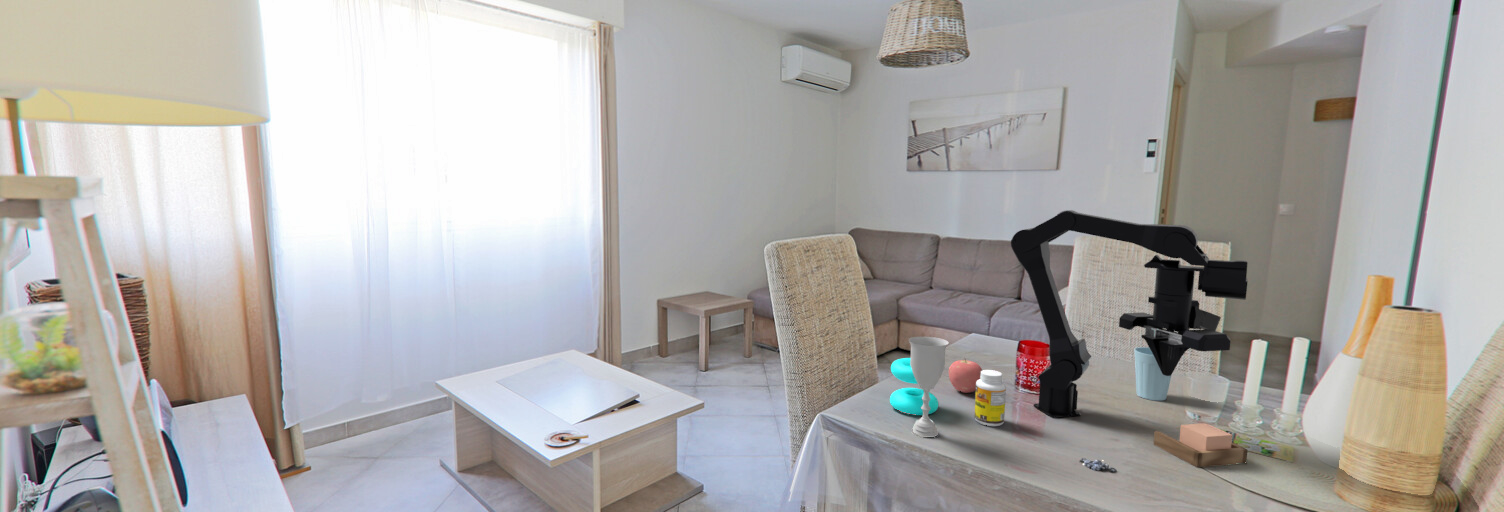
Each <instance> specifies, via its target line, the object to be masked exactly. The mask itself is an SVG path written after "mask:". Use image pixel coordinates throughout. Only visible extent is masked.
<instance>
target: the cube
mask: <svg viewBox="0 0 1504 512" xmlns="http://www.w3.org/2000/svg"><path fill="white" fill-rule="evenodd" d="M1232 440H1233V434H1231V433H1229V432H1226V431H1224V430H1222V429H1220V428H1217V427H1215V426H1212V425H1210V424H1209V423H1205V422H1204V423H1191V424H1190V423H1189V424H1180V430H1179V440H1178V441H1179V442H1182V443H1184V444H1186V445H1188V446H1190V447H1192V448H1194V449H1196V450H1198V451H1201V450H1215V449H1229V448H1231V444H1232V443H1233V441H1232Z"/></svg>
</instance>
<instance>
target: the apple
mask: <svg viewBox="0 0 1504 512" xmlns="http://www.w3.org/2000/svg"><path fill="white" fill-rule="evenodd" d="M963 358H964V359H959V360H955V361H954V362H952V364H950V366H949V368H948V377H949V382H950V384H951V385H952V386H953V387H954V389H956V390H957V391H958V392H960V391H961V392H960V393H965V394H969V393H973V392H976V382H977V380H979V379H980V378H981V377H980V376H981V371H982V370H983V369H982V367H981V365H979V364H978V363H977V362H975V361H972V360H967V359H966V358H965V357H963Z"/></svg>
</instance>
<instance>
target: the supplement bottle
mask: <svg viewBox="0 0 1504 512" xmlns="http://www.w3.org/2000/svg"><path fill="white" fill-rule="evenodd" d="M980 377H981V378H980V379H979V380H977V382H976V390H975V395H974V396H975V397H974V419H975V421H976V422H977V423H978V424H980V425H983V426H986V425H987V427H999V426H1002V425H1003V424H1004V423H1005V413H1006V412H1005V411H1006V394H1007V393H1006V392H1007V386H1006V383H1005V382H1003V373H1002V372H1000V371H997V370H994V369H993V370H992V369H982V371H981V376H980Z"/></svg>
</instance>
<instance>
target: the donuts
mask: <svg viewBox="0 0 1504 512" xmlns="http://www.w3.org/2000/svg"><path fill="white" fill-rule="evenodd" d="M910 360H911V357H904V358H898V359H895V360H893V362H892V363H891V366H890V371H891V374H892V375H893V376H894V378H896V379H897V380H899V381H901V382H904V383H907V384H915V385H918V383H917V381H916V379H915V377H914V374H913V371H912V368H911V365H910ZM923 394H924V390H923V388H917V387H903V388H899V389H897V390H894V391H893V392H892V393H891V395H890V397H889V404H890V405H892V406H893V407H894V408H895V409H897V410H900V411H902V412H906V413H910V414H916V415H915V416H923V410H922V409H921V407H922V406H923V400H922V397H923ZM929 397H930V399H931V400H930V401H929V407H930V408H931V409H930V410H929V413H928V415H932V414H934V413H935V412H937V410H938V408H939V401H938V398H937V397H936V396H935V395H934V394H933V393H932V392H930V391H929ZM892 406H891V407H892ZM893 407H892V408H893ZM894 408H893V409H894ZM895 409H894V410H895ZM897 410H896V411H897ZM902 412H901V413H902Z"/></svg>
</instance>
